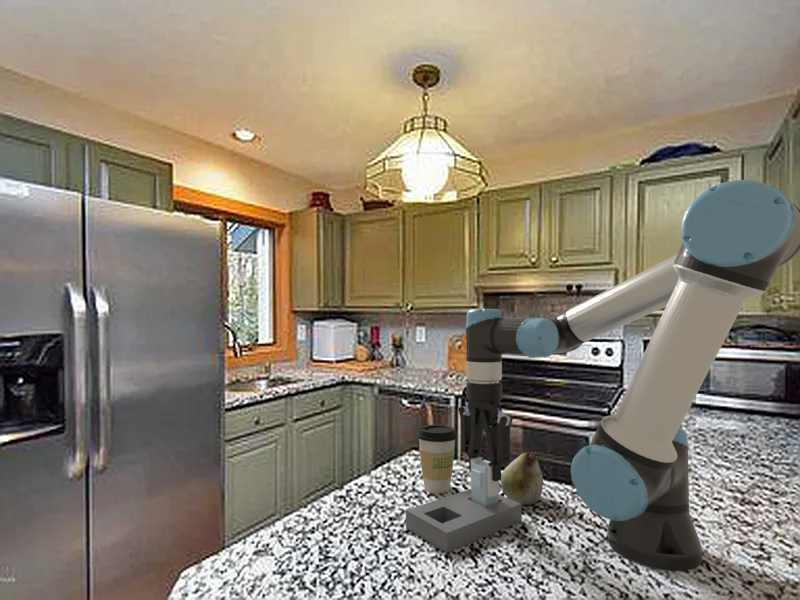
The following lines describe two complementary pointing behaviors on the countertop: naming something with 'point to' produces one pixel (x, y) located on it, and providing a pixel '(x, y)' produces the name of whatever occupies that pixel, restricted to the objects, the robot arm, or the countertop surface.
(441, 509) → the socket panel
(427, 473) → the coffee cup
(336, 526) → the countertop surface
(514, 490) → the fruit
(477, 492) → the plug
